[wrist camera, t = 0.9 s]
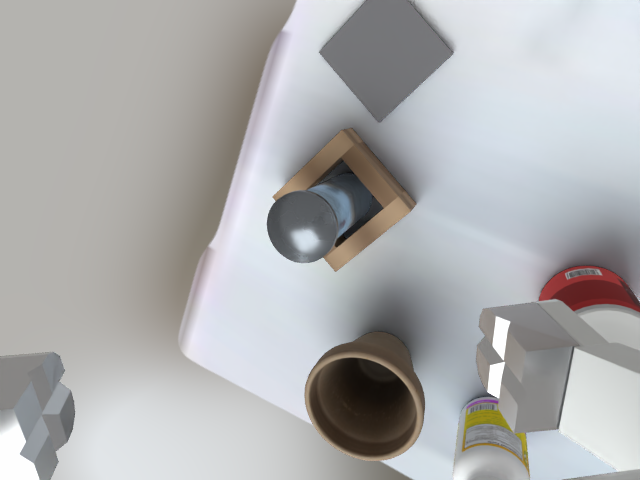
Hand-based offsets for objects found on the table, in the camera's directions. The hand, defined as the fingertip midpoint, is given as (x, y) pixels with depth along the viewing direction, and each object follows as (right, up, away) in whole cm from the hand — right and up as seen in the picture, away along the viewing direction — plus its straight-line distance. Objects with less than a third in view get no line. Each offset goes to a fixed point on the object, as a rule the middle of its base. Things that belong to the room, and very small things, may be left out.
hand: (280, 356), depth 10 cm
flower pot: (+8, -11, +46) cm, 48 cm away
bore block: (+4, +7, +42) cm, 43 cm away
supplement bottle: (+19, -17, +44) cm, 51 cm away
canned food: (+26, -4, +38) cm, 46 cm away
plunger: (+4, +7, +42) cm, 43 cm away
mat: (+7, +20, +38) cm, 43 cm away
